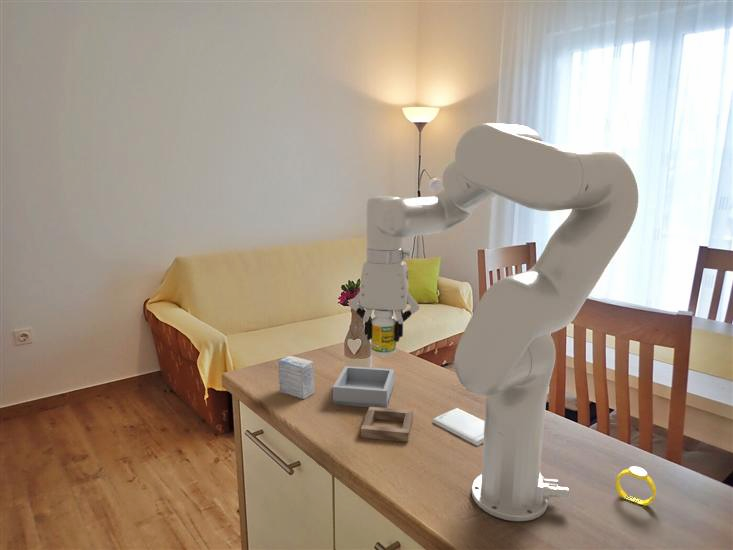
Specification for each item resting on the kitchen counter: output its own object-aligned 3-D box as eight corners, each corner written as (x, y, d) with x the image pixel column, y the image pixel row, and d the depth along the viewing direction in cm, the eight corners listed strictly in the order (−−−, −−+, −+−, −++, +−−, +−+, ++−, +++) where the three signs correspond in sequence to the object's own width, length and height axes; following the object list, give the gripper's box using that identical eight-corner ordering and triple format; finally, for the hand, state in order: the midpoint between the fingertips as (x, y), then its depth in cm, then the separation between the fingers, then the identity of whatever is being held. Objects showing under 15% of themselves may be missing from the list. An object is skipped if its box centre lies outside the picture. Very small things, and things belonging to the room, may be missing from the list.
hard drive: (433, 418, 114) (477, 440, 105) (457, 407, 119) (502, 427, 110) (432, 425, 114) (477, 448, 105) (457, 413, 120) (501, 434, 110)
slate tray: (394, 385, 133) (394, 369, 132) (386, 408, 121) (386, 391, 120) (345, 381, 135) (345, 365, 134) (333, 404, 123) (332, 386, 122)
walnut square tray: (412, 418, 116) (413, 410, 116) (408, 441, 106) (408, 432, 106) (369, 414, 118) (369, 406, 117) (361, 437, 108) (361, 428, 108)
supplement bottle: (386, 345, 115) (386, 303, 113) (401, 352, 110) (401, 309, 108) (366, 349, 112) (366, 307, 110) (380, 357, 108) (381, 313, 105)
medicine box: (314, 393, 129) (314, 361, 127) (303, 400, 125) (302, 367, 123) (290, 386, 133) (289, 354, 131) (279, 392, 129) (277, 360, 127)
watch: (653, 505, 87) (660, 475, 86) (650, 513, 85) (657, 483, 84) (616, 489, 91) (622, 460, 89) (612, 497, 89) (618, 467, 87)
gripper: (427, 254, 109) (424, 335, 113) (348, 251, 112) (348, 330, 116) (424, 261, 101) (422, 347, 105) (340, 258, 104) (341, 342, 108)
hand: (383, 338), depth 110 cm, fingers closed on supplement bottle, 5 cm apart
